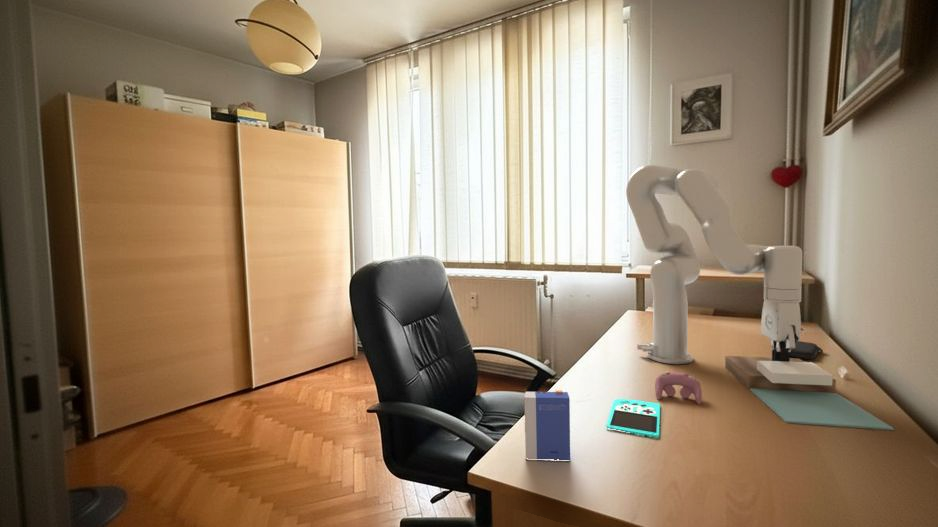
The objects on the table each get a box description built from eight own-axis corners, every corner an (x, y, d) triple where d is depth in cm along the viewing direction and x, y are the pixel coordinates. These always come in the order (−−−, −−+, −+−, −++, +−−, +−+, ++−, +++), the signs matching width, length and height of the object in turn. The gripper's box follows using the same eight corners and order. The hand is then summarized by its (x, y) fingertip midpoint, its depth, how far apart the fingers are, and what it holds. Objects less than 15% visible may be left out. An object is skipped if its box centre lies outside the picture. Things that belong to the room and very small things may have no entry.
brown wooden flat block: (749, 389, 101) (749, 375, 101) (725, 367, 117) (725, 355, 116) (835, 393, 97) (835, 379, 97) (798, 371, 112) (799, 358, 112)
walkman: (568, 453, 75) (567, 390, 74) (570, 462, 72) (569, 396, 71) (524, 452, 76) (523, 389, 75) (525, 460, 73) (523, 395, 72)
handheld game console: (661, 408, 93) (661, 402, 93) (660, 442, 79) (660, 435, 79) (614, 401, 98) (614, 396, 97) (605, 432, 83) (605, 425, 83)
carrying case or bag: (818, 364, 118) (824, 352, 128) (818, 354, 118) (824, 343, 128) (773, 357, 126) (782, 346, 136) (773, 347, 126) (782, 337, 136)
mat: (786, 422, 84) (786, 420, 84) (749, 389, 101) (749, 388, 101) (893, 430, 79) (893, 428, 79) (836, 394, 96) (836, 393, 96)
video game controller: (701, 406, 96) (699, 375, 99) (703, 404, 92) (701, 373, 95) (654, 400, 100) (654, 371, 103) (655, 398, 96) (655, 368, 99)
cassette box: (772, 382, 96) (772, 373, 96) (756, 369, 104) (757, 360, 104) (832, 385, 94) (832, 375, 93) (811, 371, 101) (812, 362, 101)
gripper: (752, 290, 111) (750, 356, 112) (780, 299, 96) (778, 375, 98) (783, 290, 109) (782, 357, 111) (817, 299, 95) (815, 377, 96)
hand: (780, 365), depth 104 cm, fingers closed
